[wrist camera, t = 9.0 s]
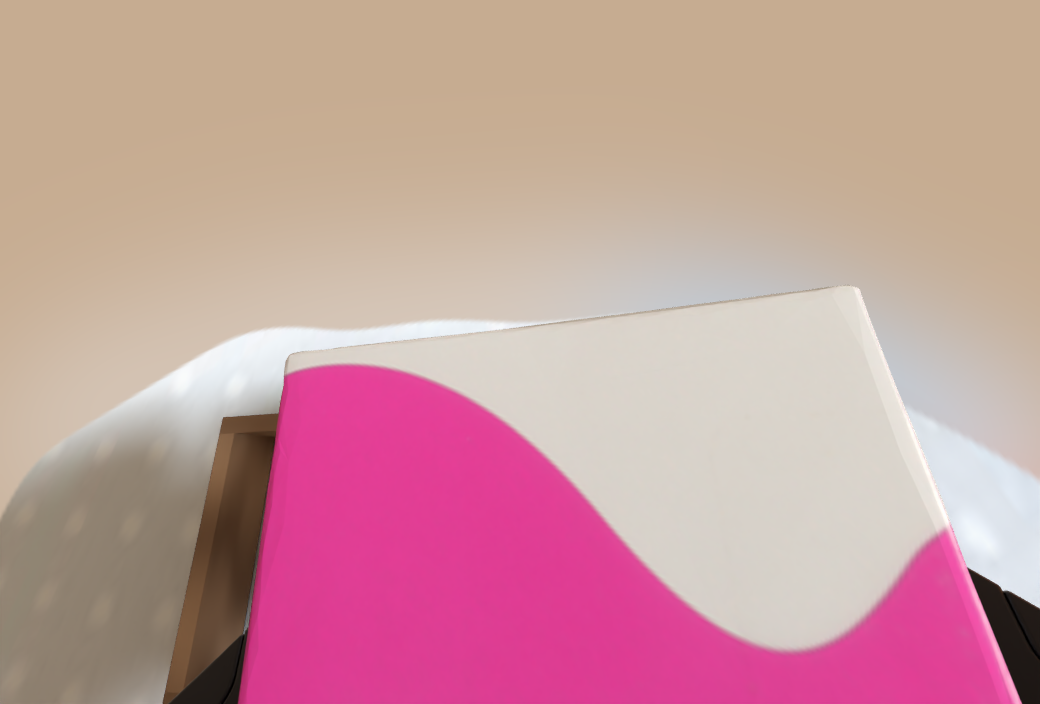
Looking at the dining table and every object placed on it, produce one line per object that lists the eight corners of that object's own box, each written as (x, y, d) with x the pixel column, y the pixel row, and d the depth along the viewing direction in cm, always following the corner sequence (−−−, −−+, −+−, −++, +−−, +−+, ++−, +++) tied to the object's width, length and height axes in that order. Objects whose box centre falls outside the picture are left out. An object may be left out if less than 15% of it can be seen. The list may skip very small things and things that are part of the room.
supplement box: (492, 436, 15) (270, 327, 4) (645, 425, 14) (906, 256, 3) (498, 607, 13) (85, 1378, 2) (675, 603, 12) (1579, 1702, 1)
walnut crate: (467, 690, 15) (447, 731, 13) (218, 682, 17) (159, 717, 14) (468, 409, 19) (452, 401, 16) (264, 423, 20) (223, 417, 18)
